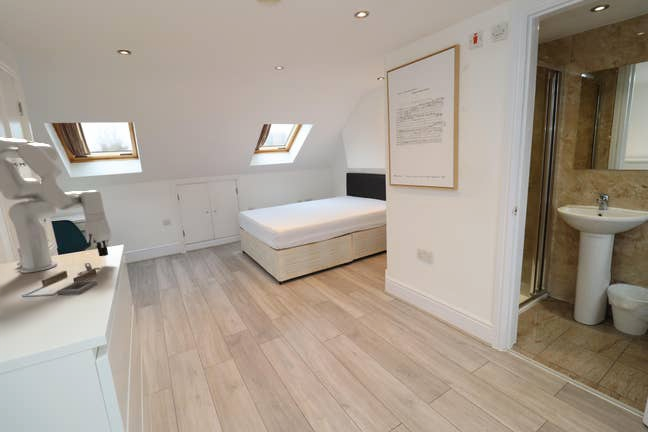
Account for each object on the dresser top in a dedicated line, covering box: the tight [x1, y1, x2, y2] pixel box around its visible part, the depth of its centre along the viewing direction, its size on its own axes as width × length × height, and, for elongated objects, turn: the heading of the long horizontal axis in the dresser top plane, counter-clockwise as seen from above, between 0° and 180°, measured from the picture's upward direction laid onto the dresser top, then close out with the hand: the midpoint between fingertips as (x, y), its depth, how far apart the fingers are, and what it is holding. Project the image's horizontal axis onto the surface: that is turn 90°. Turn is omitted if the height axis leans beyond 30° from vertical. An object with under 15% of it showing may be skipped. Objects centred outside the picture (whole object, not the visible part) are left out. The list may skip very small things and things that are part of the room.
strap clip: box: [77, 262, 101, 276], centre depth 133 cm, size 8×3×4 cm, turn 165°
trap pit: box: [56, 280, 98, 296], centre depth 113 cm, size 8×9×2 cm
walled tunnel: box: [41, 268, 97, 287], centre depth 123 cm, size 14×10×2 cm
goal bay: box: [21, 285, 57, 298], centre depth 113 cm, size 12×9×1 cm
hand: (103, 255), depth 141 cm, fingers closed
